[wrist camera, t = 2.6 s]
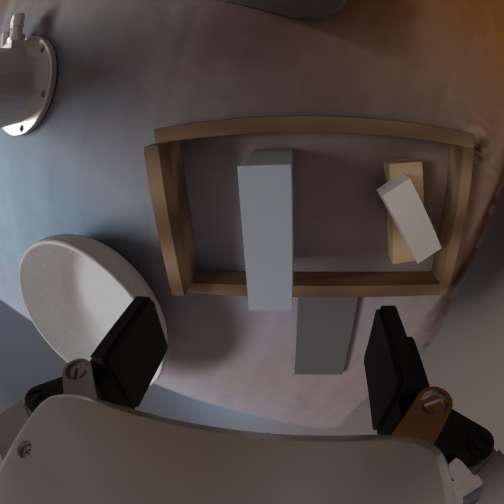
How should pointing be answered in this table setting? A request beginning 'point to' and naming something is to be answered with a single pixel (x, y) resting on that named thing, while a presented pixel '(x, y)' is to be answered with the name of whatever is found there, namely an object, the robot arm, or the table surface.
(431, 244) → the offcut upper
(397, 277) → the wooden tray
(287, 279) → the light grey block
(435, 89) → the table surface
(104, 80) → the table surface
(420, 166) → the offcut lower
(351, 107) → the table surface
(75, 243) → the serving bowl
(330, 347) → the mat
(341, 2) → the rock
